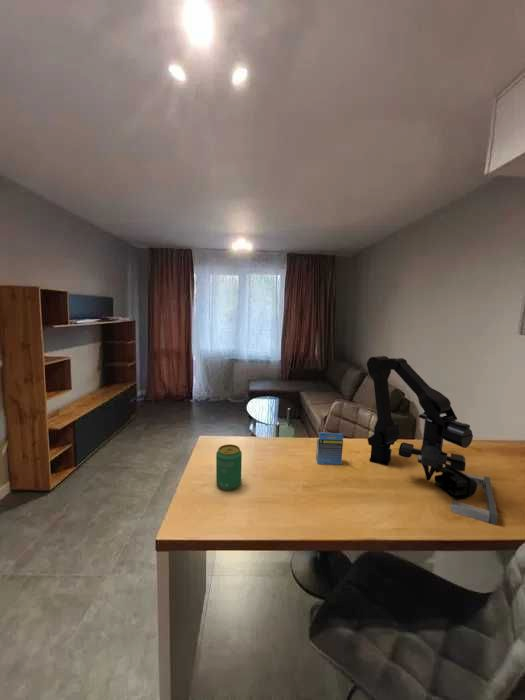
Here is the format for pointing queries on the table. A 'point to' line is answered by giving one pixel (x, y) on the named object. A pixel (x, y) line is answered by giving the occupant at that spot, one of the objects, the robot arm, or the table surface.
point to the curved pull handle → (476, 512)
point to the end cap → (455, 483)
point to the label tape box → (329, 448)
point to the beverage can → (228, 467)
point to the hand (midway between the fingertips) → (428, 480)
